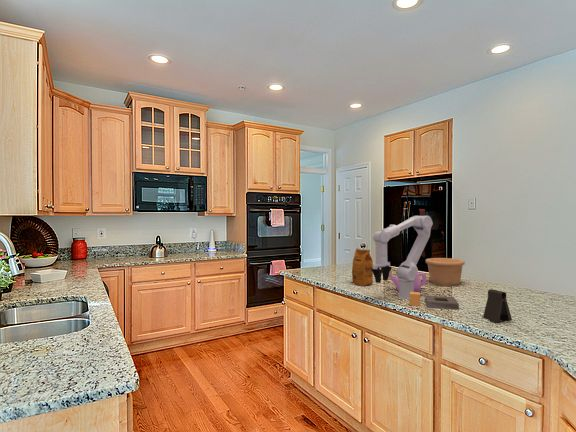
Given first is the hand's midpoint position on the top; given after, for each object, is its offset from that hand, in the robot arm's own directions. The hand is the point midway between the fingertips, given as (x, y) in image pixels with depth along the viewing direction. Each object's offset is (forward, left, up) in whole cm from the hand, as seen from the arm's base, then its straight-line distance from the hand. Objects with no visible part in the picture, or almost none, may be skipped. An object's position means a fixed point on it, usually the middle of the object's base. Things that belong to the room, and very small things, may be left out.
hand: (381, 281), depth 175 cm
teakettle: (-27, +13, -10) cm, 32 cm away
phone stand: (+22, +46, -10) cm, 52 cm away
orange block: (+7, +15, -10) cm, 19 cm away
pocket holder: (+5, +27, -9) cm, 29 cm away
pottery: (-50, +36, -10) cm, 62 cm away
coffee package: (-37, -13, -10) cm, 40 cm away
